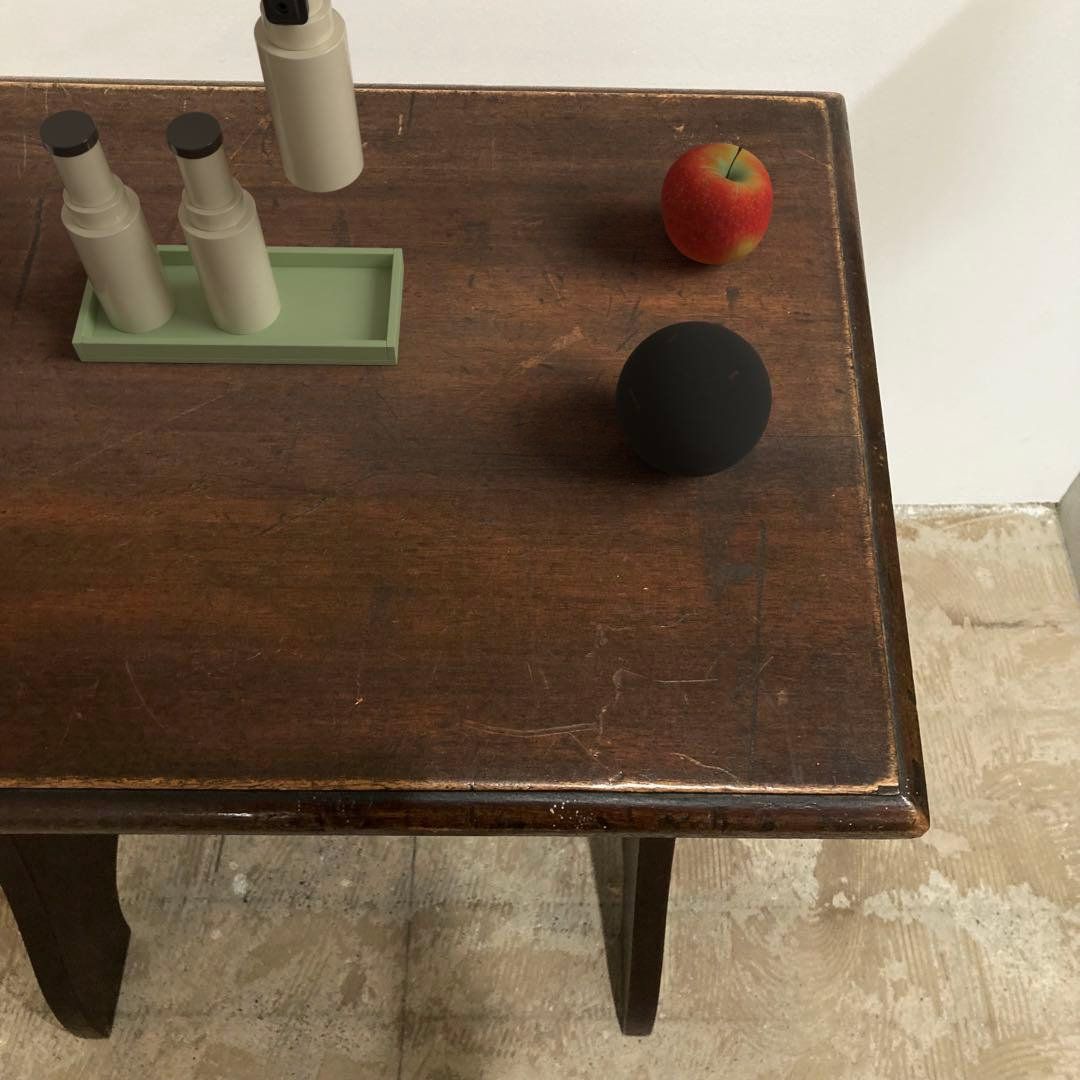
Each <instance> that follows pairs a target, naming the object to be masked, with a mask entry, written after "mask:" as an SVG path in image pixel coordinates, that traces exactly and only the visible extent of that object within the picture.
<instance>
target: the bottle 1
mask: <svg viewBox="0 0 1080 1080" xmlns="http://www.w3.org/2000/svg"><path fill="white" fill-rule="evenodd" d="M38 128H39V129H38V136H39V139H40V141H41V143H42V145H43V148H44V149H45V150H46V151H47V152H48V153H49V155H50V158H51V159H52V162H53V164H54V166H55V169H56V171H57V174H58V175H59V178H60V180H61V182H62V185H63V186H64V188H63V191H62V192H63V193H62V199H63V202H64V203H63V204H62V208H61V211H60V218H61V221H62V224H63V226H64V229H65V230H66V232H67V235H68V237H69V239H70V241H71V243H72V245H73V247H74V250H75V252H76V254H77V257H78V258H79V261H80V263H81V265H82V267H83V269H84V271H85V274H86V275H87V279H88V278H89V280H90V282H91V284H92V287H93V289H94V291H95V293H96V295H97V297H98V300H99V302H100V304H101V306H102V308H103V310H104V313H105V315H106V317H107V319H108V321H109V322H110V323H111V325H113V326H114V327H115V328H117V329H118V330H121V331H123V332H127V333H145V332H149V331H152V330H155V329H157V328H159V327H161V326H162V325H164V324H165V323H166V322H167V321H168V320H169V319H170V318H171V317H172V315H173V313H174V311H175V308H176V297H175V294H174V291H173V289H172V286H171V283H170V281H169V278H168V275H167V273H166V270H165V267H164V265H163V262H162V259H161V257H160V254H159V251H158V249H157V246H156V245H157V244H156V240H155V238H154V236H153V232H152V230H151V227H150V225H149V222H148V219H147V216H146V215H145V211H144V208H143V206H142V203H141V200H140V198H139V196H138V195H137V193H136V191H134V190H133V189H132V188H131V187H129V186H127V185H125V184H124V183H123V180H122V179H121V178H120V177H119V176H118V175H116V173H113V171H112V170H111V166H110V164H109V161H108V159H107V155H106V154H105V152H104V149H103V146H102V144H101V140H100V138H99V137H100V132H99V129H98V127H97V124H96V121H95V119H94V118H93V117H92V116H91V115H90V114H89V113H87V112H86V111H83V110H79V109H64V110H59V111H57V112H54V113H51V114H50V115H49V116H47V117H46V118H45V119H44V120H43V121H42V122H41V123H40V126H39V127H38Z"/></svg>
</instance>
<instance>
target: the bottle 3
mask: <svg viewBox="0 0 1080 1080" xmlns="http://www.w3.org/2000/svg"><path fill="white" fill-rule="evenodd" d="M308 4H309V16H308V21H307V23H305V24H304V25H275V24H272V23H270V22H269V21H268V20H267V19H266V16H265V11H264V6H263V1H262V0H260V1H259V12H260V16H259V17H258V18H257V20H256V22H255V24H254V27H253V38H254V42H255V46H256V51H257V56H258V61H259V66H260V70H261V75H262V79H263V84H264V89H265V93H266V98H267V103H268V106H269V111H270V117H271V121H272V126H273V130H274V134H275V135H274V136H275V140H276V144H277V149H278V153H279V158H280V163H281V167H282V171H283V174H284V176H285V178H286V179H287V180H288V182H290V183H291V184H292V185H294V186H295V187H296V188H299V189H301V190H303V191H306V192H311V193H329V192H334V191H338V190H339V191H340V190H341V189H343V188H344V189H345V188H346V187H348V186H350V185H351V184H352V183H354V182H355V181H356V180H357V179H358V178H359V177H360V175H361V173H362V172H363V168H364V165H365V159H364V158H365V157H364V150H363V144H362V137H361V130H360V129H361V128H360V122H359V115H358V114H359V113H358V107H357V101H356V100H357V99H356V93H355V86H354V85H355V84H354V78H353V70H352V64H351V55H350V48H349V41H348V34H347V26H346V21H345V20H344V18H343V16H342V14H341V13H340V12H338V10H336V9H335V8H334V7H333V6H332V5H333V4H332V0H308Z"/></svg>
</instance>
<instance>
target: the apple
mask: <svg viewBox="0 0 1080 1080" xmlns="http://www.w3.org/2000/svg"><path fill="white" fill-rule="evenodd" d="M772 185H773V184H772V181H771V177H770V174H769V173H768V170H767V168H766V167H765V165H764V164H763V163H762V162H761V160H760V159H759V158H758V157H756V156H755V155H754V154H753V153H751V152H750V151H748V150H746V149H745V148H744V144H741V145H739V146H738V145H735V144H732V143H729V142H710V143H705V144H702V145H698V146H695V147H693V148H691V149H689V150H687V151H686V152H684V153H683V154H682V155H680V156H679V157H678V158H677V159H676V160H675V161H674V162H673V163H672V164H671V165H670V166H669V168H668V170H667V173H666V174H665V176H664V179H663V183H662V188H661V193H660V198H661V199H660V209H661V216H662V221H663V225H664V228H665V231H666V234H667V235H668V237H669V239H670V241H671V243H672V244H673V245H674V247H675V248H676V249H677V250H678V252H679V253H681V254H682V255H683V256H685V257H687V258H688V259H690V260H693V261H695V262H698V263H700V264H701V263H702V264H707V265H716V266H717V265H727V264H732V263H735V262H738V261H740V260H742V259H743V258H746V257H747V256H748V255H749V254H750V253H751V252H753V251H754V250H755V249H756V247H757V246H758V245H759V244H760V243H761V241H762V239H763V237H764V235H765V234H766V232H767V230H768V226H769V224H770V221H771V217H772V213H773V212H772V211H773V206H774V205H773V204H774V193H773V186H772Z"/></svg>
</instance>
